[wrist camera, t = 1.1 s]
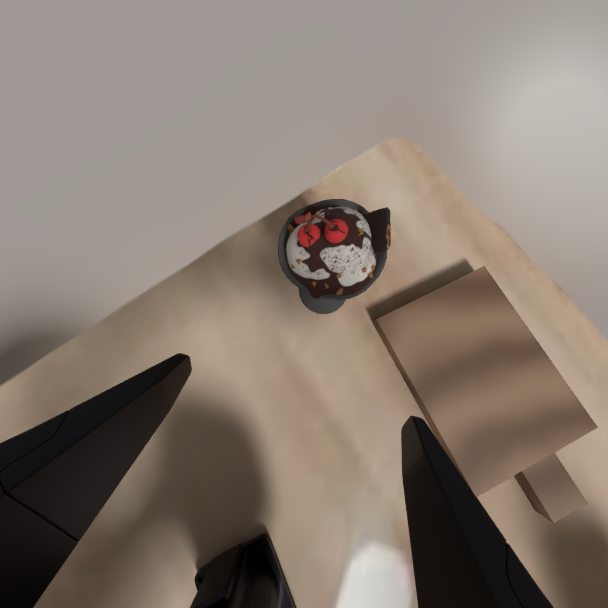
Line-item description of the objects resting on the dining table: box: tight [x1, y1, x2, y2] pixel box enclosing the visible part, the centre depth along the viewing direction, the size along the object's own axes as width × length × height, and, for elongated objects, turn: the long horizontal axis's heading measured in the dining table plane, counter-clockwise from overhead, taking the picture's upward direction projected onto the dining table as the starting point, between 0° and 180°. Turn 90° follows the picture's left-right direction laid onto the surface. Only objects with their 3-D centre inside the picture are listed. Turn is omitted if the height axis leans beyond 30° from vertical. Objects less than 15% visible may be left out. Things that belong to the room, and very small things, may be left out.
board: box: [372, 266, 598, 523], centre depth 21 cm, size 20×12×2 cm, turn 26°
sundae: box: [278, 199, 391, 314], centre depth 16 cm, size 7×7×15 cm
